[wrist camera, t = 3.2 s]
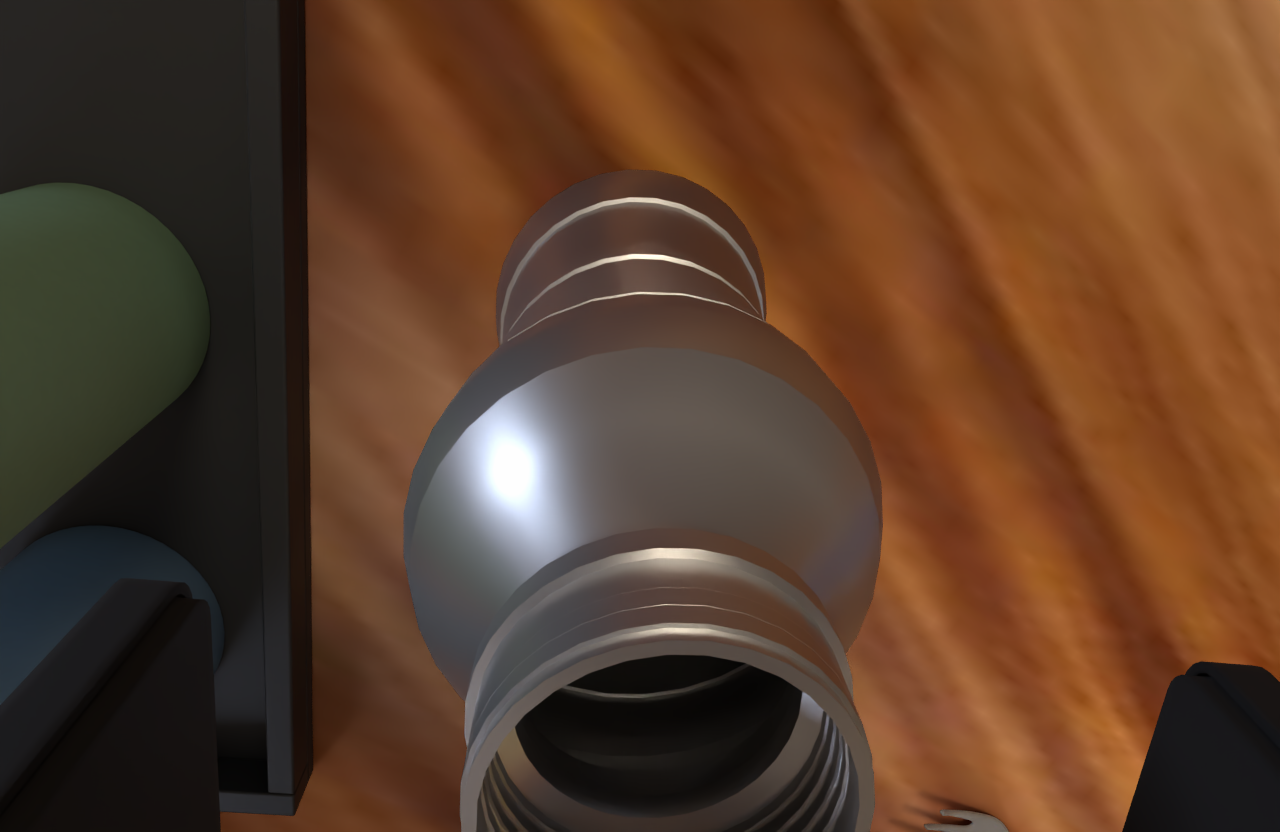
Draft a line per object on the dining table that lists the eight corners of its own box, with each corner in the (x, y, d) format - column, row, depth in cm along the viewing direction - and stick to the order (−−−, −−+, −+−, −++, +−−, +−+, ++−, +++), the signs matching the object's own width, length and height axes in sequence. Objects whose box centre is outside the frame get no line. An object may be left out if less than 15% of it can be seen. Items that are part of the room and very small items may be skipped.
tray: (-229, -399, 22) (-311, -441, 20) (301, -333, 23) (272, -367, 21) (-48, 747, 32) (-91, 794, 30) (313, 770, 33) (294, 817, 31)
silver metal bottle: (802, 272, 28) (1210, 779, 9) (631, 445, 29) (671, 1183, 11) (625, 101, 26) (668, 285, 7) (453, 295, 28) (127, 854, 9)
